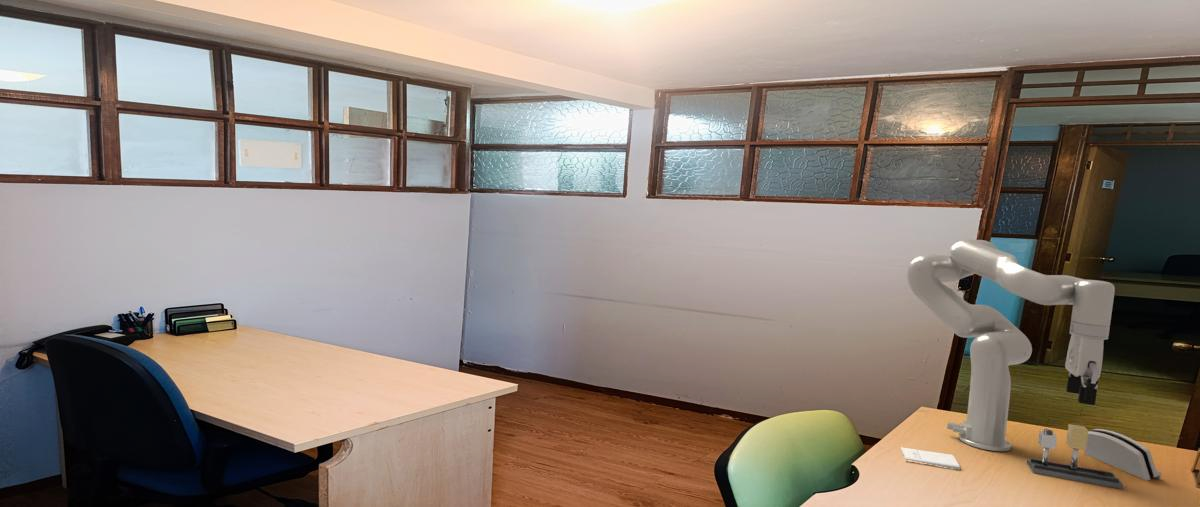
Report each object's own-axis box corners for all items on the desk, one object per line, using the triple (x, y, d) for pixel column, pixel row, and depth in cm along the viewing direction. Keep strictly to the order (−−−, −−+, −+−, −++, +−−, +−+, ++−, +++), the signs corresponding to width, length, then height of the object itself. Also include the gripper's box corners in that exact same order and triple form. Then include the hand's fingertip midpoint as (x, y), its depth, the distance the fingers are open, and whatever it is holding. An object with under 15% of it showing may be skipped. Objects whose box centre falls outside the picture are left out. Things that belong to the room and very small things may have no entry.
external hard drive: (959, 472, 154) (904, 463, 158) (951, 460, 162) (899, 451, 166) (960, 466, 154) (905, 457, 158) (952, 454, 162) (900, 446, 166)
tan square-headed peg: (1067, 469, 154) (1072, 427, 153) (1063, 465, 157) (1068, 424, 156) (1083, 472, 152) (1088, 430, 152) (1079, 467, 155) (1084, 426, 155)
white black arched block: (1163, 480, 155) (1156, 443, 153) (1147, 486, 154) (1141, 450, 153) (1098, 453, 171) (1092, 420, 170) (1084, 459, 171) (1078, 426, 169)
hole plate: (1033, 472, 155) (1037, 432, 154) (1026, 462, 161) (1030, 423, 161) (1122, 489, 148) (1128, 447, 147) (1112, 478, 154) (1117, 437, 154)
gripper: (1060, 322, 161) (1052, 386, 163) (1081, 334, 145) (1072, 405, 147) (1096, 326, 158) (1087, 391, 160) (1121, 339, 142) (1111, 411, 144)
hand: (1080, 398), depth 153 cm, fingers open, 9 cm apart
